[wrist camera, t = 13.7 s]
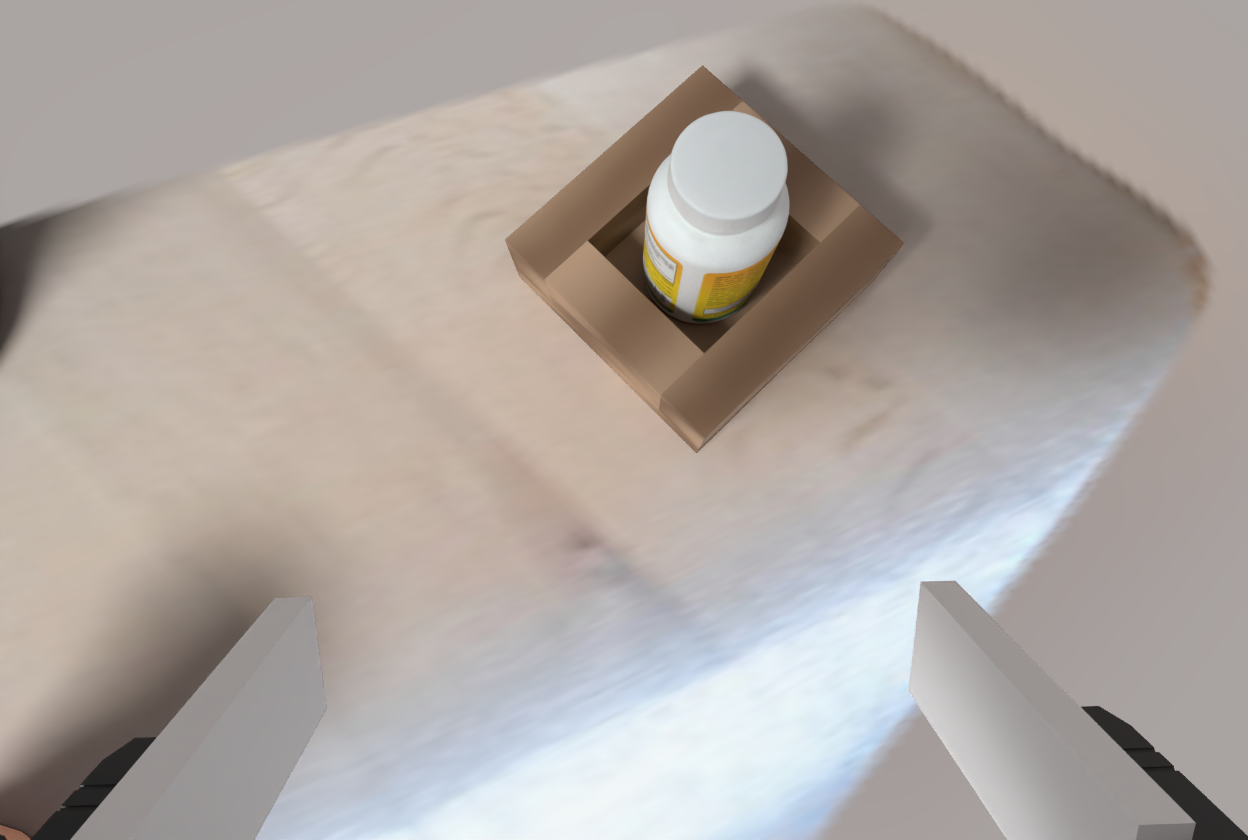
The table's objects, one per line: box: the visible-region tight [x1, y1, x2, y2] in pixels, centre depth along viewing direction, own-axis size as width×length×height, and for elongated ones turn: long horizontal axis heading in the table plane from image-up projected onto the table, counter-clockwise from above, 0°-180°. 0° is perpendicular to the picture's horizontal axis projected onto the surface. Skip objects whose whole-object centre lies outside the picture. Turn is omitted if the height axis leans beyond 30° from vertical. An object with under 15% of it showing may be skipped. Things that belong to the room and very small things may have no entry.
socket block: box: [505, 66, 904, 453], centre depth 33 cm, size 12×12×4 cm
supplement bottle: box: [643, 111, 789, 324], centre depth 29 cm, size 5×5×10 cm
